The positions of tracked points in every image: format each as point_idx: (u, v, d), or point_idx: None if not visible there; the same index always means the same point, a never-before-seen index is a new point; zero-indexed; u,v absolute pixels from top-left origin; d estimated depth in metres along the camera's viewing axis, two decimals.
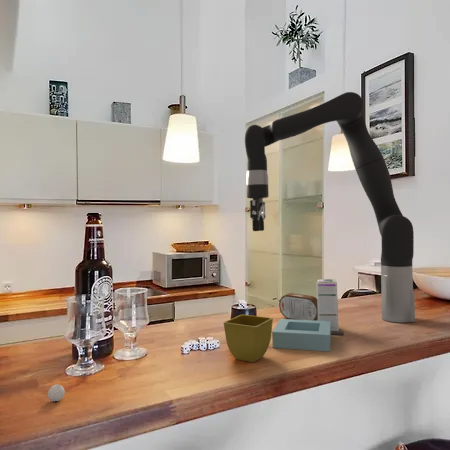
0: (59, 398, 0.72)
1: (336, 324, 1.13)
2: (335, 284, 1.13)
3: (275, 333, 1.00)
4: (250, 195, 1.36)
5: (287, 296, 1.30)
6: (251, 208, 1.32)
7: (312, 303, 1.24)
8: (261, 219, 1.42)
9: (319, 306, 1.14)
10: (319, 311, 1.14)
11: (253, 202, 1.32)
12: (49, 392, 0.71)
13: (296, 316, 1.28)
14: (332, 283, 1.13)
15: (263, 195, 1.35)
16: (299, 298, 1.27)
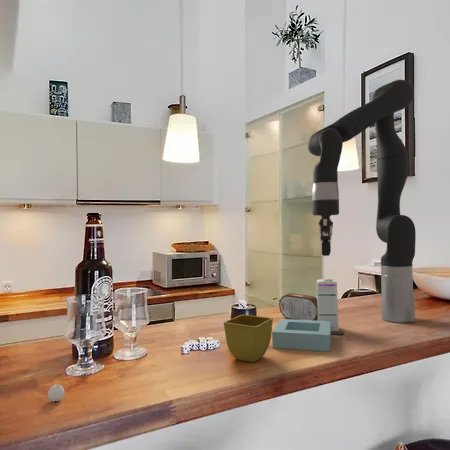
0: (59, 398, 0.72)
1: (336, 324, 1.13)
2: (335, 284, 1.13)
3: (275, 333, 1.00)
4: (318, 212, 1.14)
5: (287, 296, 1.30)
6: (322, 228, 1.10)
7: (312, 303, 1.24)
8: None
9: (319, 306, 1.14)
10: (319, 311, 1.14)
11: (324, 221, 1.10)
12: (49, 392, 0.71)
13: (296, 316, 1.28)
14: (332, 283, 1.13)
15: (334, 212, 1.13)
16: (299, 298, 1.27)
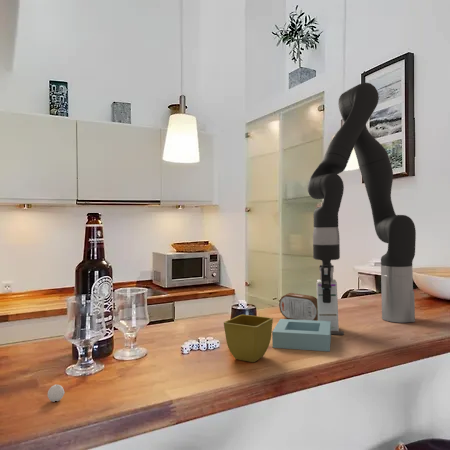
0: (59, 398, 0.72)
1: (336, 324, 1.13)
2: (335, 284, 1.13)
3: (275, 333, 1.00)
4: (319, 257, 1.14)
5: (287, 296, 1.30)
6: (323, 278, 1.10)
7: (312, 303, 1.24)
8: None
9: (319, 306, 1.14)
10: (319, 311, 1.14)
11: (325, 271, 1.10)
12: (49, 392, 0.71)
13: (296, 316, 1.28)
14: (332, 283, 1.13)
15: (335, 258, 1.13)
16: (299, 298, 1.27)
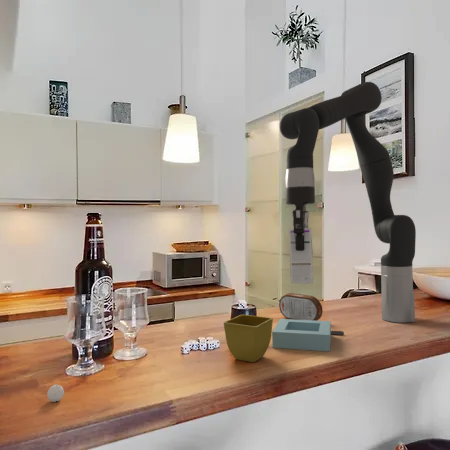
0: (58, 398, 0.71)
1: (310, 274, 1.02)
2: (309, 230, 1.02)
3: (275, 333, 1.00)
4: (292, 201, 1.03)
5: (287, 296, 1.30)
6: (295, 221, 1.00)
7: (312, 303, 1.24)
8: None
9: (291, 255, 1.03)
10: (291, 260, 1.03)
11: (297, 213, 0.99)
12: (48, 392, 0.71)
13: (296, 316, 1.28)
14: (306, 229, 1.03)
15: (309, 201, 1.02)
16: (299, 298, 1.27)
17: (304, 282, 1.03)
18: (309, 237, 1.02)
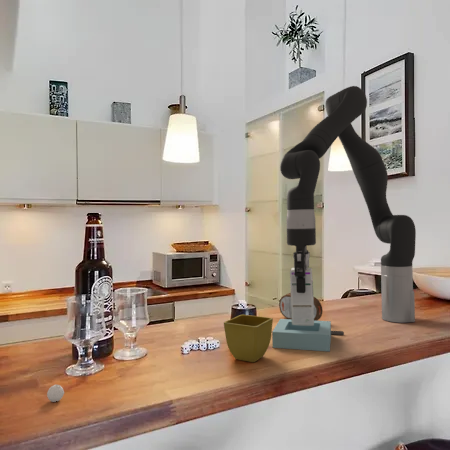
0: (58, 398, 0.71)
1: (311, 316, 1.02)
2: (310, 272, 1.02)
3: (275, 333, 1.00)
4: (292, 243, 1.03)
5: (287, 296, 1.30)
6: (296, 265, 1.00)
7: None
8: None
9: (292, 296, 1.03)
10: (292, 302, 1.03)
11: (298, 257, 0.99)
12: (48, 392, 0.71)
13: None
14: (306, 271, 1.03)
15: (310, 243, 1.02)
16: None
17: (305, 324, 1.03)
18: (310, 279, 1.02)
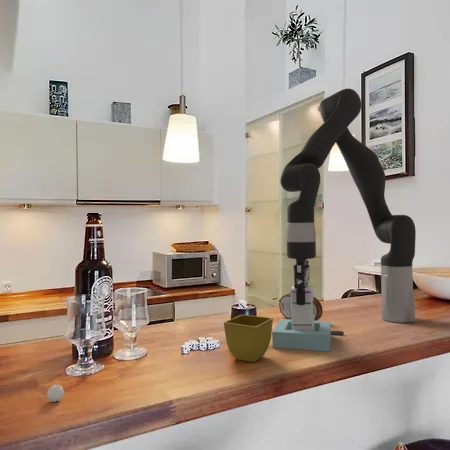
0: (58, 398, 0.71)
1: None
2: (310, 291, 1.02)
3: (275, 333, 1.00)
4: (293, 256, 1.03)
5: (287, 296, 1.30)
6: (296, 276, 0.99)
7: None
8: None
9: (293, 315, 1.03)
10: (293, 321, 1.03)
11: (298, 268, 0.99)
12: (48, 392, 0.71)
13: None
14: (307, 290, 1.02)
15: (310, 256, 1.02)
16: None
17: None
18: (310, 298, 1.02)
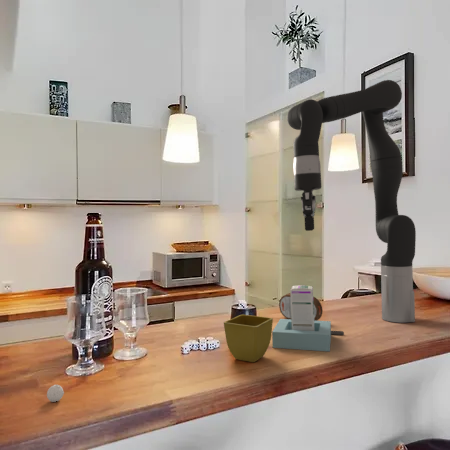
0: (58, 398, 0.71)
1: None
2: (310, 291, 1.02)
3: (275, 333, 1.00)
4: (300, 186, 1.11)
5: (287, 296, 1.30)
6: (304, 202, 1.07)
7: None
8: None
9: (293, 315, 1.03)
10: (293, 321, 1.03)
11: (306, 195, 1.07)
12: (48, 392, 0.71)
13: None
14: (307, 290, 1.02)
15: (316, 186, 1.10)
16: None
17: None
18: (310, 298, 1.02)
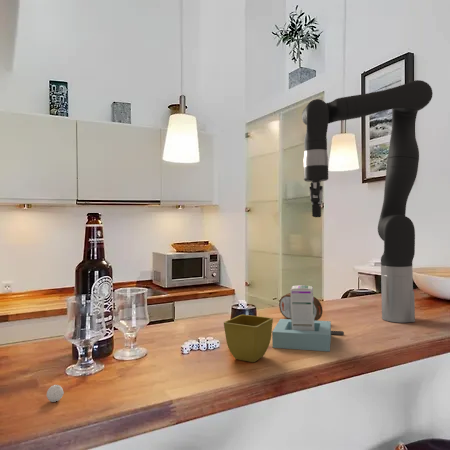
0: (58, 398, 0.71)
1: None
2: (310, 291, 1.02)
3: (275, 333, 1.00)
4: (309, 177, 1.23)
5: (287, 296, 1.30)
6: (312, 191, 1.19)
7: None
8: (318, 204, 1.30)
9: (293, 315, 1.03)
10: (293, 321, 1.03)
11: (314, 184, 1.19)
12: (48, 392, 0.71)
13: None
14: (307, 290, 1.02)
15: (324, 177, 1.23)
16: None
17: None
18: (310, 298, 1.02)
